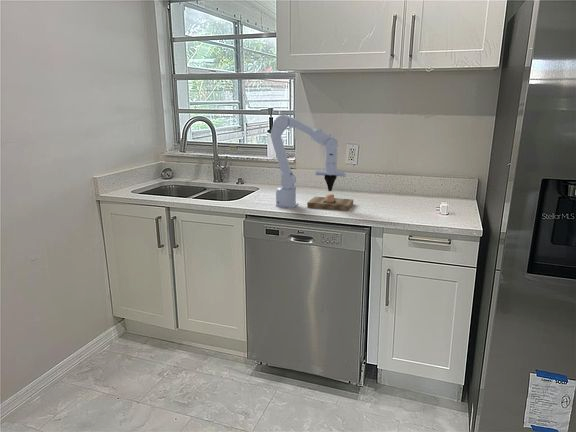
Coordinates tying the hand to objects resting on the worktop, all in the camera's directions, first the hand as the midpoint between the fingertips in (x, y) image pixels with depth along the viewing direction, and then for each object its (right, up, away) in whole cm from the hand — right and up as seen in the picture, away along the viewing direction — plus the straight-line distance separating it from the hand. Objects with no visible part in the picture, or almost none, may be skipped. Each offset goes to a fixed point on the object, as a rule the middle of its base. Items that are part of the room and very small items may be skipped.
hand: (330, 190), depth 207 cm
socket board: (+1, -7, +4) cm, 8 cm away
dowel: (0, -8, +2) cm, 8 cm away
